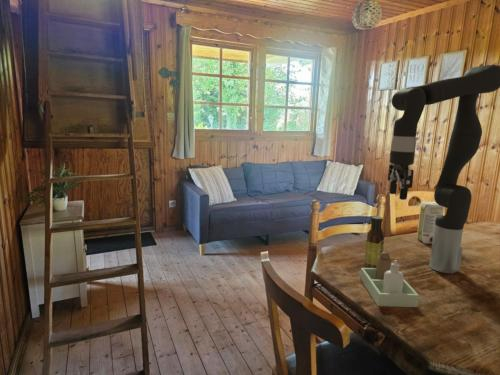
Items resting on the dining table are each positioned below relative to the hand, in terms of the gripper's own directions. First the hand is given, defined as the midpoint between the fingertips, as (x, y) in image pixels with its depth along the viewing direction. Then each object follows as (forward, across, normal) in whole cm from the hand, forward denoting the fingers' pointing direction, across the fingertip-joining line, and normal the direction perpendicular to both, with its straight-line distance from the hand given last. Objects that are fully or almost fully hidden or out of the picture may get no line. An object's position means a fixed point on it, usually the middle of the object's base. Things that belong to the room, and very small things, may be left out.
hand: (397, 196), depth 112 cm
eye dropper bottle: (+29, -15, +5) cm, 33 cm away
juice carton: (+30, +37, -33) cm, 58 cm away
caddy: (+30, -11, +5) cm, 32 cm away
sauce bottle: (+30, +8, +3) cm, 31 cm away
